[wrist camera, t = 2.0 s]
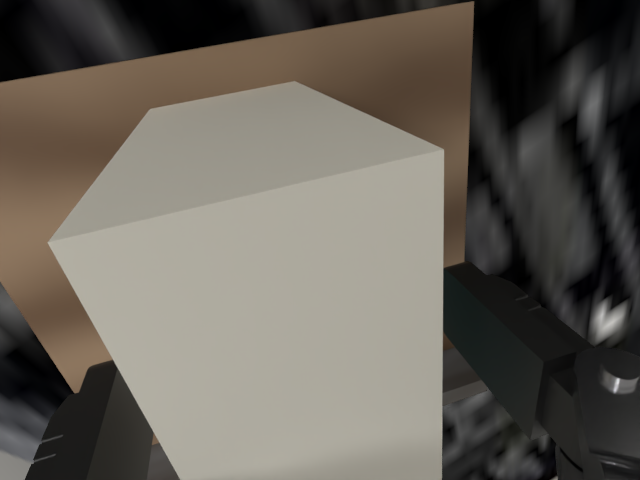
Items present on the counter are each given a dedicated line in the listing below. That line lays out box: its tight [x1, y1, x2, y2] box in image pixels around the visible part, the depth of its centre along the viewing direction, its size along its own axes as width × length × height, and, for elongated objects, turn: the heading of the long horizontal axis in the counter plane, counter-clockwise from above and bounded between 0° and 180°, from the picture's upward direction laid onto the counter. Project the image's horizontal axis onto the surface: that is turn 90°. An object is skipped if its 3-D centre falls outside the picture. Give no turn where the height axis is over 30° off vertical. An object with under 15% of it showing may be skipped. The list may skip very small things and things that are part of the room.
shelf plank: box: [0, 1, 487, 480], centre depth 17 cm, size 18×19×4 cm
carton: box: [48, 81, 444, 480], centre depth 12 cm, size 5×10×10 cm, turn 9°
